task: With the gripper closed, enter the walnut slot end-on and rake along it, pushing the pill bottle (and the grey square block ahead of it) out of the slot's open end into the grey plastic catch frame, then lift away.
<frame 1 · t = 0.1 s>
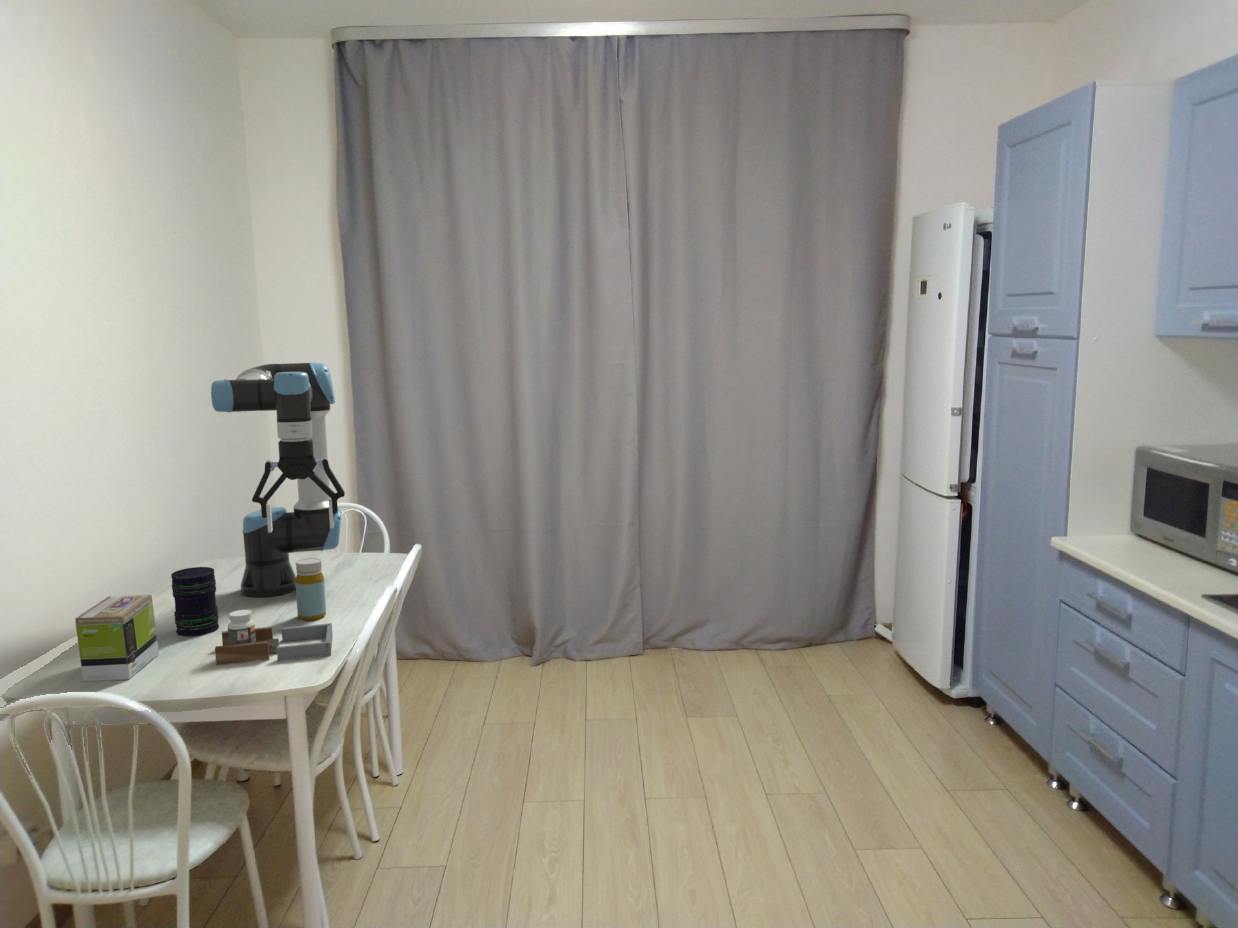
hand: (301, 529, 205), 28 cm above the table, tool pointing down, fingers open, 13 cm apart
grey square block: (269, 652, 205), on the table
bottle: (312, 617, 229), on the table
slot: (245, 653, 203), on the table
dark blue canister: (198, 630, 219), on the table
catch frame: (305, 647, 207), on the table
tea box: (122, 669, 195), on the table
pill bottle: (243, 654, 203), on the table
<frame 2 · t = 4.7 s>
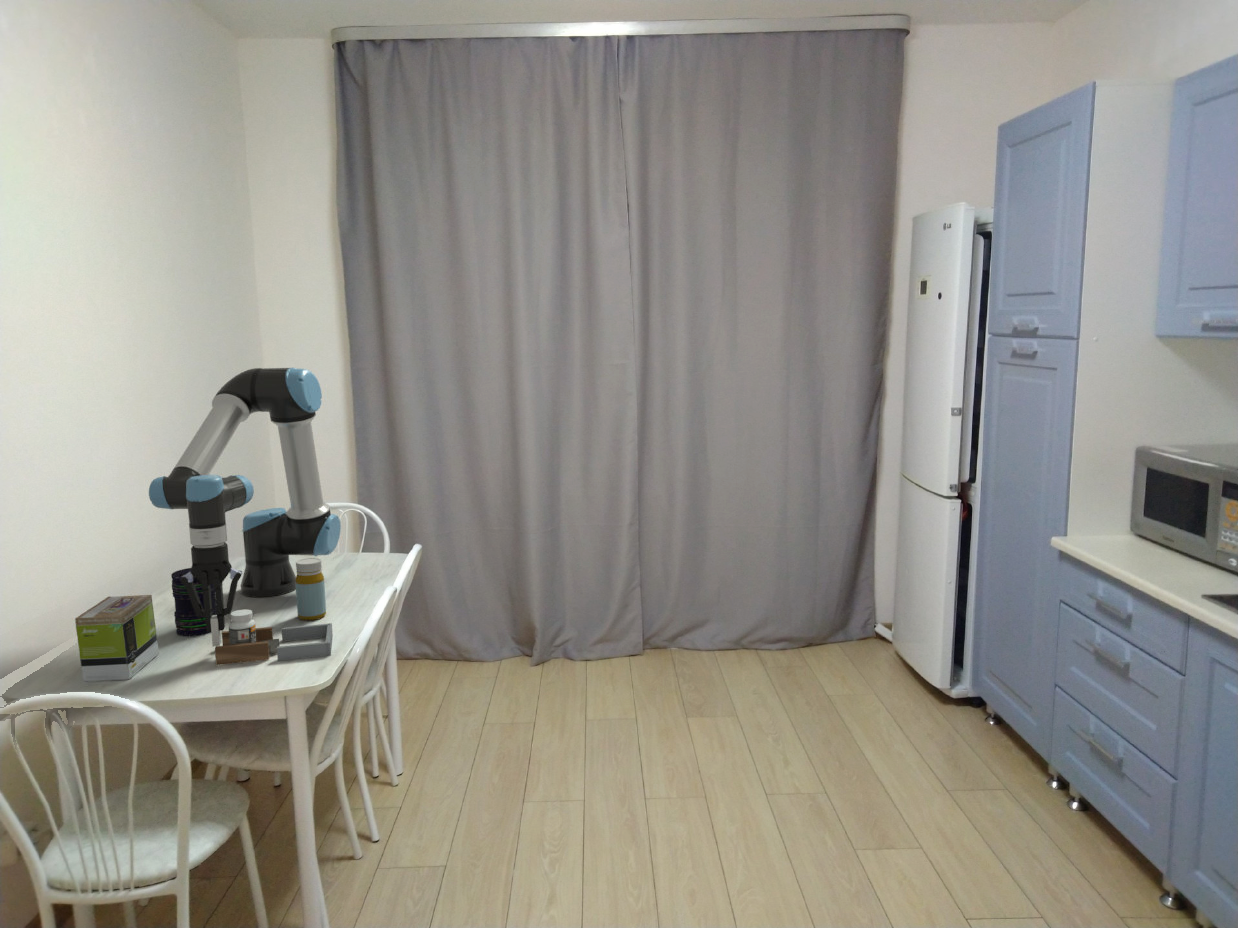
hand: (216, 643, 201), 3 cm above the table, tool pointing down, fingers closed
pill bottle: (243, 654, 203), on the table, touching gripper
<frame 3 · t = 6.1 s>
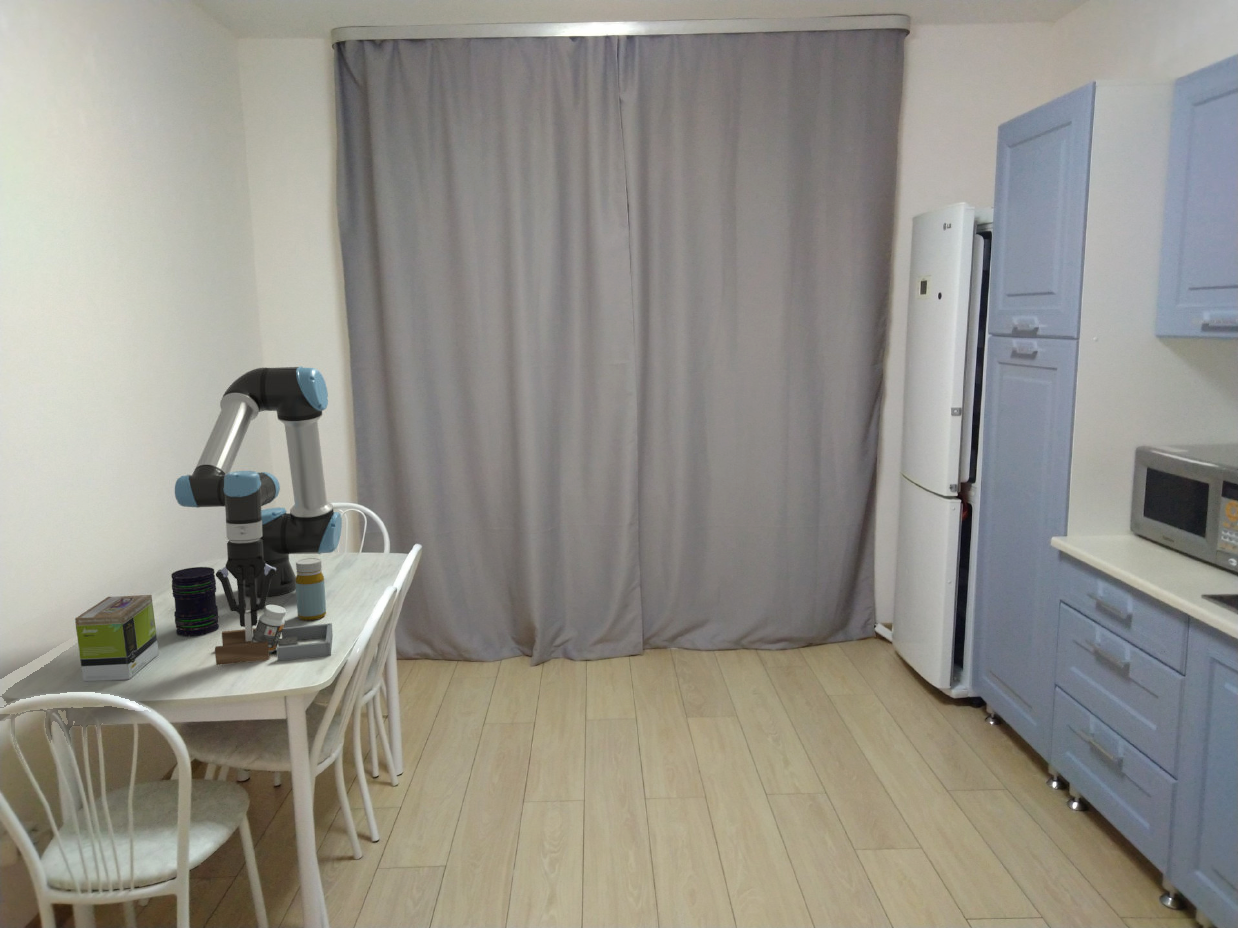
hand: (249, 639, 202), 4 cm above the table, tool pointing down, fingers closed
grey square block: (288, 650, 205), on the table
pill bottle: (262, 648, 204), point 1 cm above the table, touching gripper
everything else where it was.
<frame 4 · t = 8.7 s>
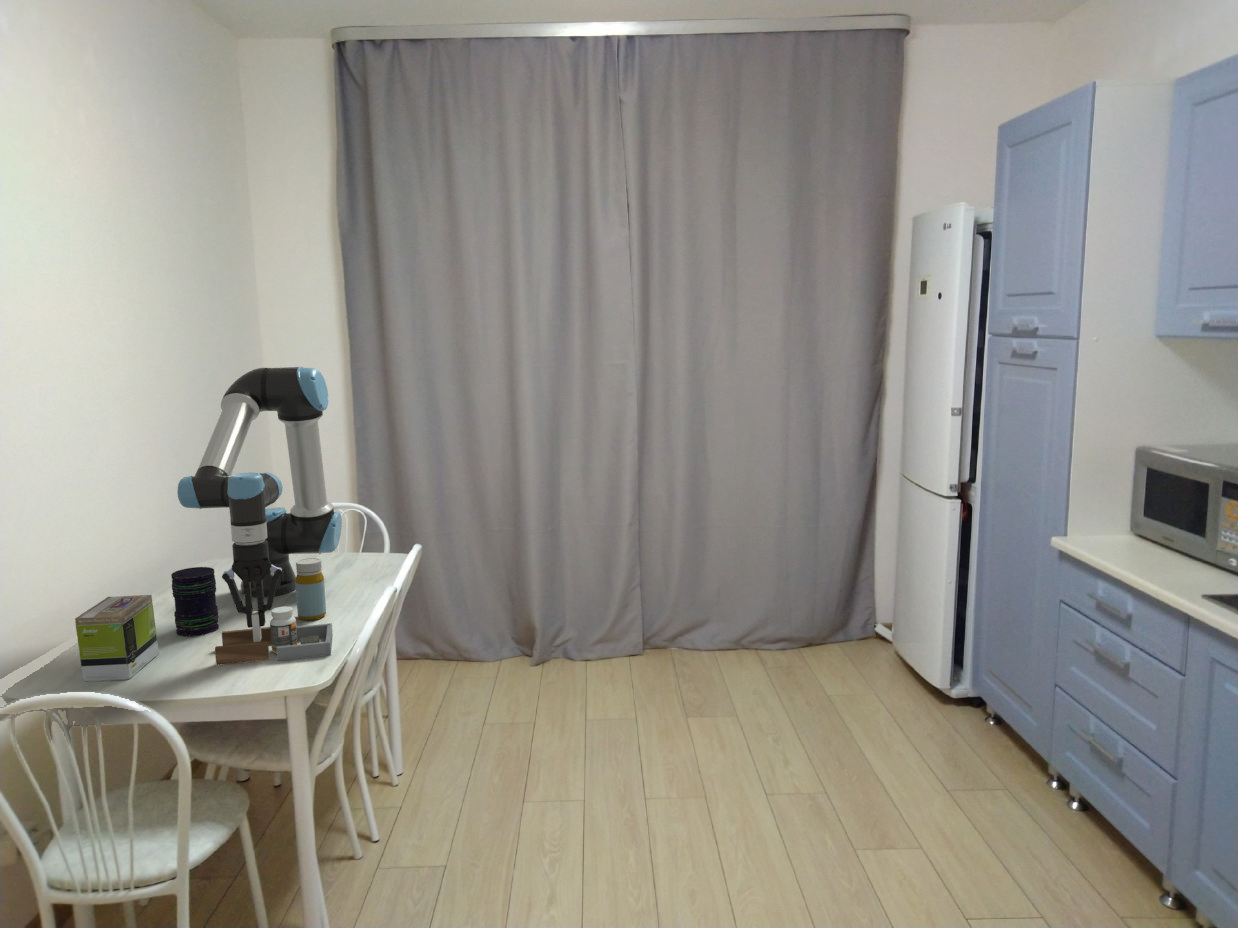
hand: (257, 639, 204), 3 cm above the table, tool pointing down, fingers closed
grey square block: (310, 648, 206), on the table
pill bottle: (284, 650, 205), on the table
everything else where it was.
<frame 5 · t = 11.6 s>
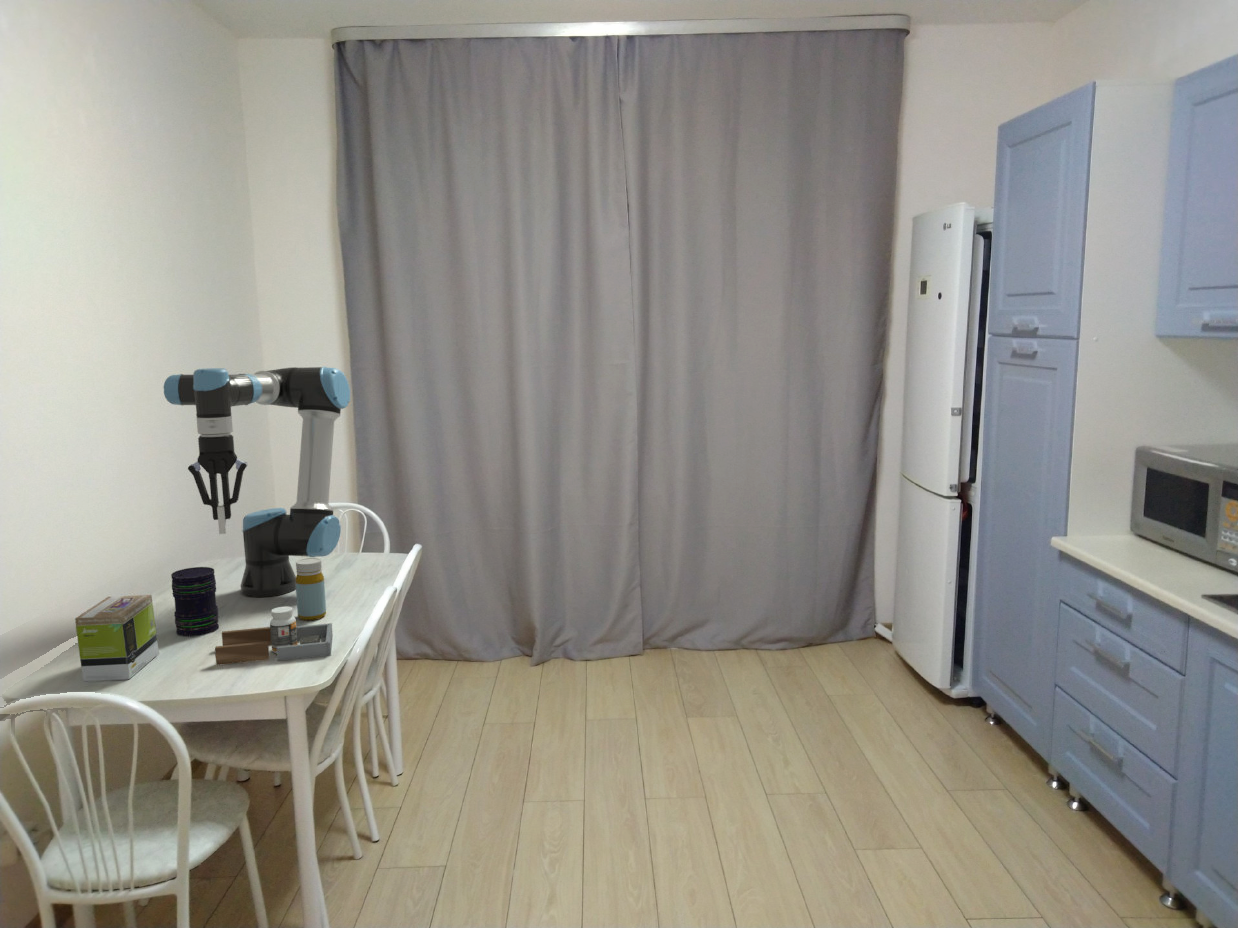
hand: (223, 532, 209), 26 cm above the table, tool pointing down, fingers closed
nothing on the table moved.
at the end: pill bottle inside the target area (5.0 cm from its centre), on the table; pill bottle moved 9.0 cm from its start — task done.
